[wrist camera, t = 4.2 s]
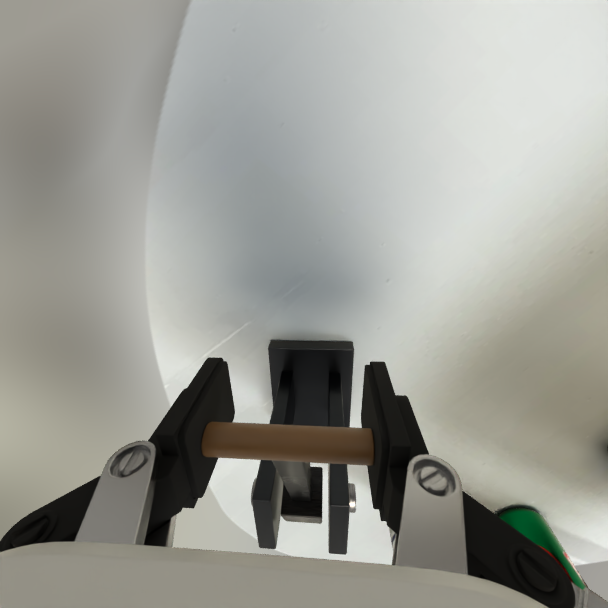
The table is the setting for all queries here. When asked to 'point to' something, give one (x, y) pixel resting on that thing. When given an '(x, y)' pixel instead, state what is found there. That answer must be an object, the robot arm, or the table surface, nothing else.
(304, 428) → the lever
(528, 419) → the table surface
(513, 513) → the soda can
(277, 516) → the switch bracket
